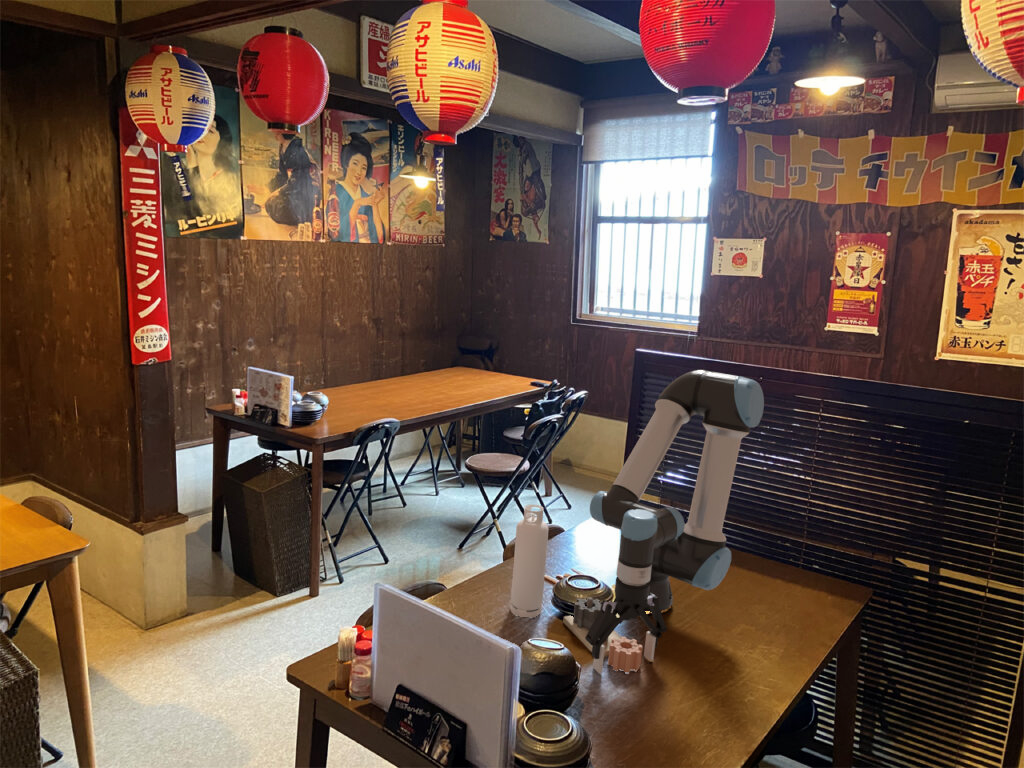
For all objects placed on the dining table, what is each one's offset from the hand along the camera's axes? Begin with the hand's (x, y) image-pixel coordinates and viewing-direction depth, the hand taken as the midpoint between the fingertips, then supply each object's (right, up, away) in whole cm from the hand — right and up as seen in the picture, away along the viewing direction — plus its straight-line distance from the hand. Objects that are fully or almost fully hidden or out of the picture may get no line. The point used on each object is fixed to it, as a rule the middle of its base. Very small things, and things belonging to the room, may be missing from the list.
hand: (623, 665), depth 168 cm
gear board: (-5, +3, +12) cm, 13 cm away
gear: (0, 0, 0) cm, 0 cm away
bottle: (-22, +6, +22) cm, 31 cm away
